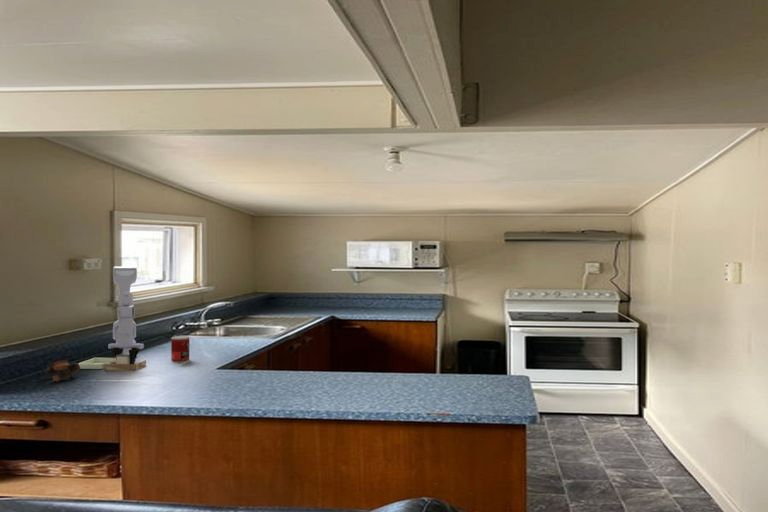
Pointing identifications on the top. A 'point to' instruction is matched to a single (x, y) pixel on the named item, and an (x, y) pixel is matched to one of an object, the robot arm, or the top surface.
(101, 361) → the tray
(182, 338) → the canned food
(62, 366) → the toy turtle
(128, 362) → the grey box
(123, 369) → the dock
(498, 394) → the top surface
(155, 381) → the top surface
